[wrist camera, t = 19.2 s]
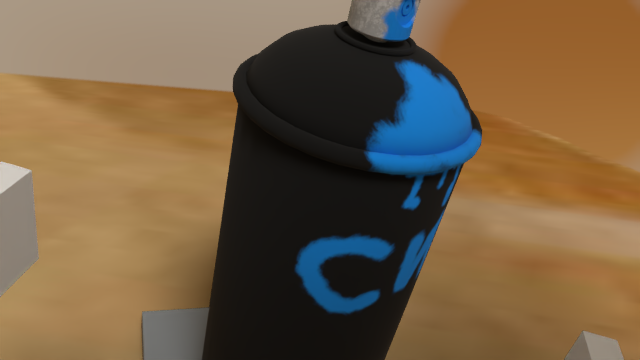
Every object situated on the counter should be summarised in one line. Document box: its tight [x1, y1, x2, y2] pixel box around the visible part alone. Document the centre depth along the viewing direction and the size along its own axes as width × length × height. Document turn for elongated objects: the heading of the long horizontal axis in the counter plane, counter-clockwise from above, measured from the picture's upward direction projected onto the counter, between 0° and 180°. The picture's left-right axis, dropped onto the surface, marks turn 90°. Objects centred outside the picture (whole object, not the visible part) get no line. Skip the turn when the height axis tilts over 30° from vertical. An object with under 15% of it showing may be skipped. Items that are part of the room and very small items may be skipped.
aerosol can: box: [202, 0, 482, 360], centre depth 21 cm, size 8×8×20 cm
